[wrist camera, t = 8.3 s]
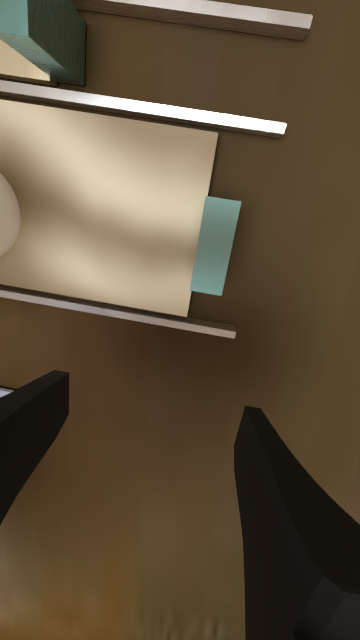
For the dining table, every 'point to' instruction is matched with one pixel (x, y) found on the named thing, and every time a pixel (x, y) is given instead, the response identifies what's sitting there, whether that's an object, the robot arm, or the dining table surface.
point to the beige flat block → (113, 208)
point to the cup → (8, 216)
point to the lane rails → (68, 67)
